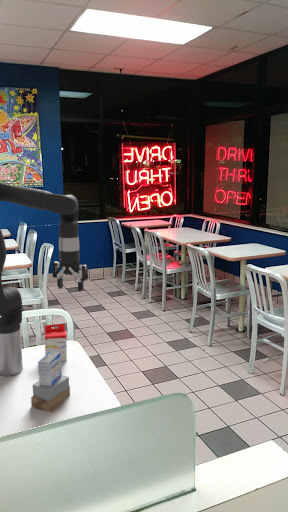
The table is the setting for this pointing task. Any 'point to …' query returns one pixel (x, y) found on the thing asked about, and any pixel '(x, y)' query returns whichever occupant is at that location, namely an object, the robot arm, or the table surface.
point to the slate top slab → (51, 388)
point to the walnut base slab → (51, 404)
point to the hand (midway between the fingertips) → (70, 289)
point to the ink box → (56, 340)
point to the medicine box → (49, 368)
